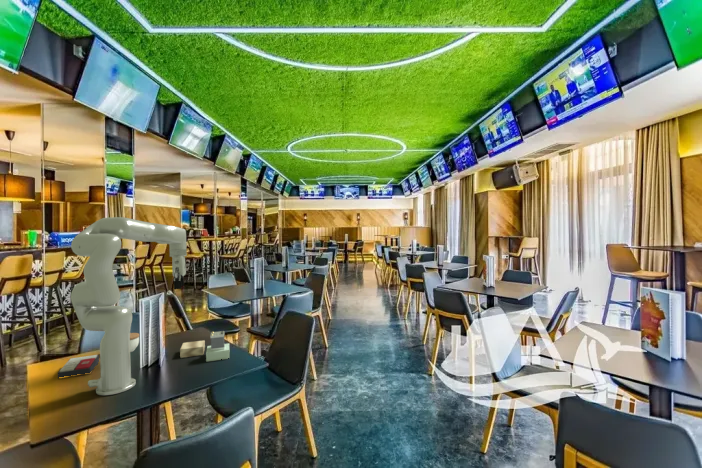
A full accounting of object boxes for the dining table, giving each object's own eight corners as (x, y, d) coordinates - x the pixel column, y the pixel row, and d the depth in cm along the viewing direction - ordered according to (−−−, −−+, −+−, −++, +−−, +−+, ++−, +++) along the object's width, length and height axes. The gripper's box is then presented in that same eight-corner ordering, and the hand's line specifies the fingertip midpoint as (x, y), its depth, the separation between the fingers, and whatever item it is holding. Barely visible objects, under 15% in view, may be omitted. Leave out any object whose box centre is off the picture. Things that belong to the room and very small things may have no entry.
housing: (224, 349, 158) (224, 333, 158) (210, 351, 156) (210, 335, 156) (224, 345, 164) (224, 329, 164) (211, 346, 162) (211, 331, 162)
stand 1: (180, 357, 159) (180, 349, 159) (183, 350, 169) (183, 342, 169) (203, 354, 163) (203, 346, 163) (204, 348, 172) (204, 340, 172)
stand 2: (206, 361, 154) (206, 353, 154) (207, 354, 163) (207, 346, 163) (229, 358, 157) (229, 349, 157) (229, 351, 167) (229, 343, 167)
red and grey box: (57, 371, 138) (69, 357, 152) (57, 381, 138) (69, 366, 152) (90, 366, 143) (99, 353, 156) (90, 376, 143) (99, 362, 157)
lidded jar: (144, 348, 173) (144, 330, 173) (124, 356, 163) (123, 336, 163) (130, 346, 177) (129, 328, 177) (109, 353, 167) (108, 334, 167)
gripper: (184, 253, 160) (185, 289, 160) (188, 251, 176) (189, 284, 176) (166, 254, 157) (167, 290, 158) (172, 252, 174) (173, 285, 174)
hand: (179, 287), depth 167 cm, fingers open, 9 cm apart
